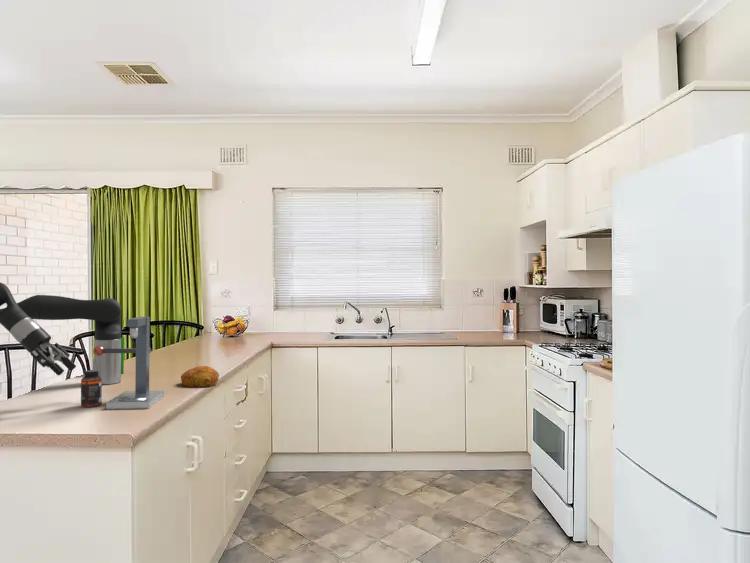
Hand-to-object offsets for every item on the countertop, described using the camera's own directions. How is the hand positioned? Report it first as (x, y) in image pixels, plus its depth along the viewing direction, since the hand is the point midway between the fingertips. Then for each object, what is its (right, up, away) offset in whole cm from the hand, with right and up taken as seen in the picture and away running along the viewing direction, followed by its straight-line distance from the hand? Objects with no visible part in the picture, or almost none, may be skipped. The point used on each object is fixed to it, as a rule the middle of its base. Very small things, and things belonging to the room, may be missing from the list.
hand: (67, 371), depth 172 cm
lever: (+10, +3, +15) cm, 18 cm away
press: (+19, -12, +7) cm, 23 cm away
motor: (-16, -11, +61) cm, 64 cm away
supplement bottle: (+7, -12, +2) cm, 14 cm away
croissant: (+29, -12, +40) cm, 51 cm away
